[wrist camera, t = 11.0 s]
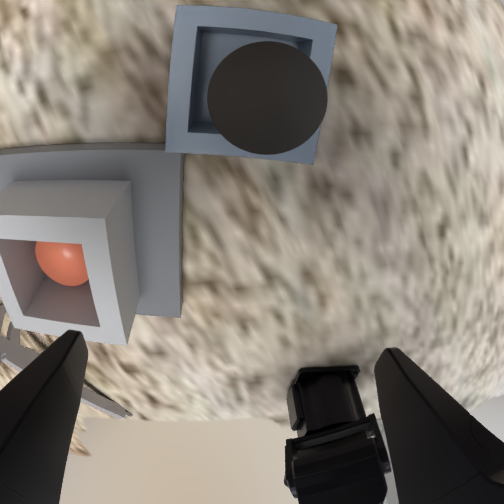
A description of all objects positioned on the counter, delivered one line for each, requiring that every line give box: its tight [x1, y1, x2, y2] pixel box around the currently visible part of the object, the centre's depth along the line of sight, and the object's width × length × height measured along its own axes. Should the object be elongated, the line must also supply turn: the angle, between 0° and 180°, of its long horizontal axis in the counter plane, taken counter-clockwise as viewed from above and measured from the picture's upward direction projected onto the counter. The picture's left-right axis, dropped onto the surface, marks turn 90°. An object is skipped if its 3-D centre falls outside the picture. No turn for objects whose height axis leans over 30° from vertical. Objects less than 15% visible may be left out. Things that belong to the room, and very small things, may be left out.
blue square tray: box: [165, 5, 337, 165], centre depth 14 cm, size 7×7×4 cm
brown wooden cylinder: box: [207, 41, 327, 155], centre depth 11 cm, size 3×3×10 cm
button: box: [35, 241, 89, 286], centre depth 18 cm, size 4×4×2 cm
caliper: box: [0, 304, 132, 419], centre depth 26 cm, size 20×1×6 cm, turn 25°
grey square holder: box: [0, 143, 184, 346], centre depth 17 cm, size 14×12×6 cm
